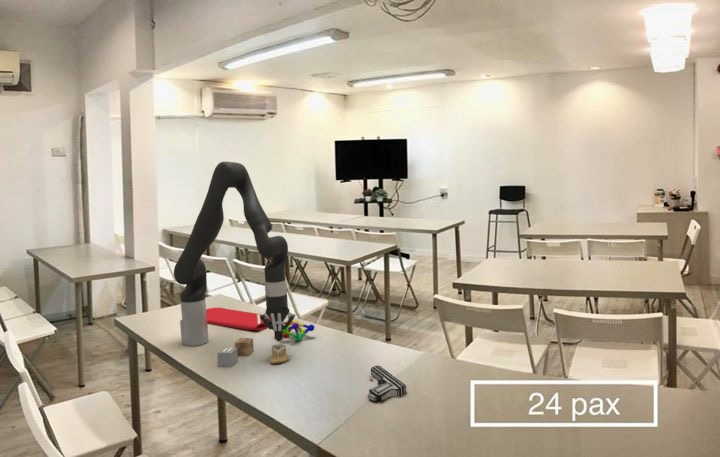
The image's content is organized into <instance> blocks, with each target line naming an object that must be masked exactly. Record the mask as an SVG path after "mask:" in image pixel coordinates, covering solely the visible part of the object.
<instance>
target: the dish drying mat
mask: <svg viewBox="0 0 720 457" xmlns="http://www.w3.org/2000/svg"><path fill="white" fill-rule="evenodd" d="M206 313H207V324H209V325H210V324H211V325H216V326H222V327H228V328H236V329H241V330H242V329H243V330H251V331H265V330H267V329H269V328H268V327H267V326H266V325H265V323H264V322H263V321H262V320H261V319H260V316H261V315H263V313H262V314H261V313H256V312H250V311H249V312H248V311H243V310H235V309H229V308H225V307H209V308H206ZM268 318H269V317H268ZM269 320H270V321H271V322H272V320H271V319H270V318H269Z"/></svg>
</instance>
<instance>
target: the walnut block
mask: <svg viewBox="0 0 720 457" xmlns="http://www.w3.org/2000/svg"><path fill="white" fill-rule="evenodd" d="M234 348H237V354H238V357H249V356H251V355H252V353H253V352H254V351H255V349H254V338H252V337H239V338H238V339H237V340H236V341H234Z"/></svg>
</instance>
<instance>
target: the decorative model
mask: <svg viewBox="0 0 720 457" xmlns="http://www.w3.org/2000/svg"><path fill="white" fill-rule="evenodd" d="M286 322H287V321H284V325H285V324H286ZM301 327H302V328H301ZM304 328H305V329H304ZM292 330H294V332H295V333H292ZM314 330H315V325H314V324H309V325H307V324H304V323H300V322H299V320H295V319H294V320H293V321H292V322H291V323H290V325H289V326H288V327H287V328H286V329H285V330H283V336H284V337H283V338H289V337H293V338H294V339H295V341H296V342H300V341H302V337H304V336H305V335H307V333H309V332H313V331H314Z"/></svg>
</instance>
